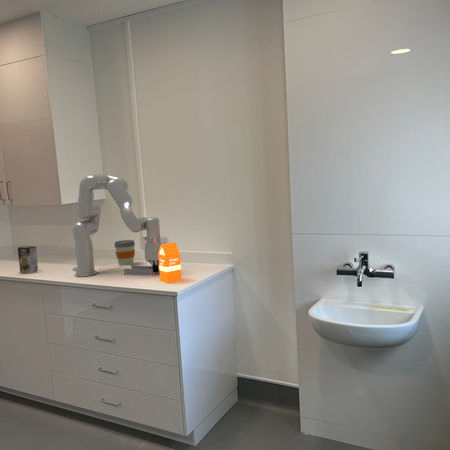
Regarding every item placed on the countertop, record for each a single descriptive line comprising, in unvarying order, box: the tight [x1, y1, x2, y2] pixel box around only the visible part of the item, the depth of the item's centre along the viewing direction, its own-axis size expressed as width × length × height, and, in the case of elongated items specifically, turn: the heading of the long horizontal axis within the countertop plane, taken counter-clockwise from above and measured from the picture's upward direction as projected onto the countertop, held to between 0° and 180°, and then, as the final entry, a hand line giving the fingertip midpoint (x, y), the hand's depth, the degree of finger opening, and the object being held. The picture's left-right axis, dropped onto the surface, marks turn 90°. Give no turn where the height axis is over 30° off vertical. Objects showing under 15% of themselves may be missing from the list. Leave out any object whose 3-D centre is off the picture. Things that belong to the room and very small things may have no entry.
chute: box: [123, 265, 154, 276], centre depth 266 cm, size 18×9×4 cm, turn 70°
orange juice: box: [159, 242, 183, 284], centre depth 246 cm, size 8×9×20 cm
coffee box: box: [17, 245, 39, 274], centre depth 289 cm, size 9×6×16 cm
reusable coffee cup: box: [114, 239, 136, 267], centre depth 298 cm, size 13×13×15 cm
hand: (155, 271), depth 263 cm, fingers closed
